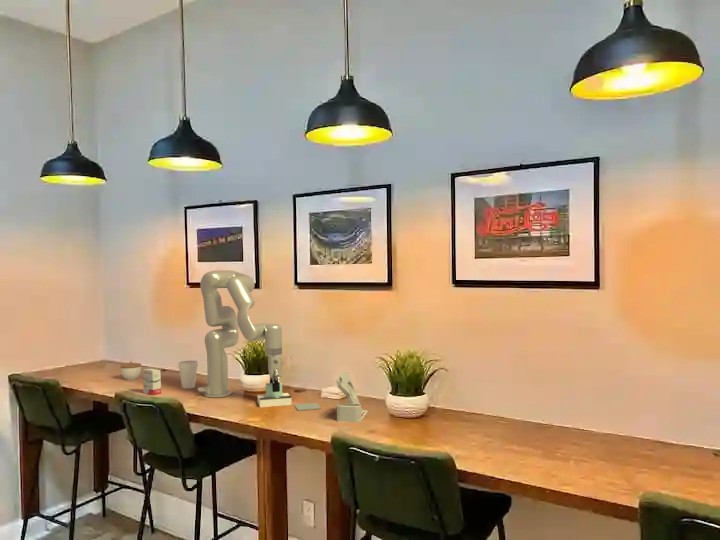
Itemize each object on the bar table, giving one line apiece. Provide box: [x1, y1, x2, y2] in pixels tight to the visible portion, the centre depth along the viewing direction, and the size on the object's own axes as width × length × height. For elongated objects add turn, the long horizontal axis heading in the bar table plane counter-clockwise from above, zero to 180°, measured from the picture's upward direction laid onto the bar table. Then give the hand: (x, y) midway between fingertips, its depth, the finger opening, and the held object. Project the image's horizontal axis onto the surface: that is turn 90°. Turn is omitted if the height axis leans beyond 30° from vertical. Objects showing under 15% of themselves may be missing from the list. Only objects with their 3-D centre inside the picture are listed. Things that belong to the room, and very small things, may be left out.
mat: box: [293, 402, 322, 412], centre depth 264 cm, size 10×10×1 cm
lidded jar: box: [120, 361, 142, 380], centre depth 333 cm, size 11×11×9 cm
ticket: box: [265, 382, 283, 397], centre depth 272 cm, size 7×2×9 cm, turn 105°
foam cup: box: [178, 359, 199, 389], centre depth 308 cm, size 10×9×13 cm
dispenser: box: [257, 392, 292, 408], centre depth 272 cm, size 14×11×4 cm
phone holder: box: [335, 370, 369, 423], centre depth 247 cm, size 17×10×18 cm, turn 168°
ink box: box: [142, 368, 162, 396], centre depth 295 cm, size 9×5×12 cm, turn 51°
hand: (274, 389), depth 271 cm, fingers open, 9 cm apart
